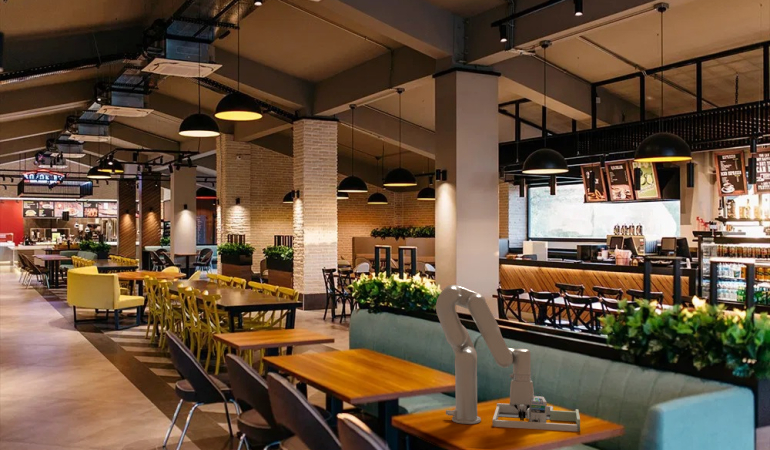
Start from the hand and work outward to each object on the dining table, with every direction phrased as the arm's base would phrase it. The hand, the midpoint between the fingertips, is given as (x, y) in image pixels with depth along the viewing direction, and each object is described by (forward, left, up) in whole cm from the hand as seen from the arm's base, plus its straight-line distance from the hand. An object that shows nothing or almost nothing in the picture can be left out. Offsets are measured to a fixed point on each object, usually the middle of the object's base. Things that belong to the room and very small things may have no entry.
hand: (522, 419), depth 297 cm
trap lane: (+6, +4, -1) cm, 7 cm away
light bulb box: (+6, 0, -1) cm, 7 cm away
